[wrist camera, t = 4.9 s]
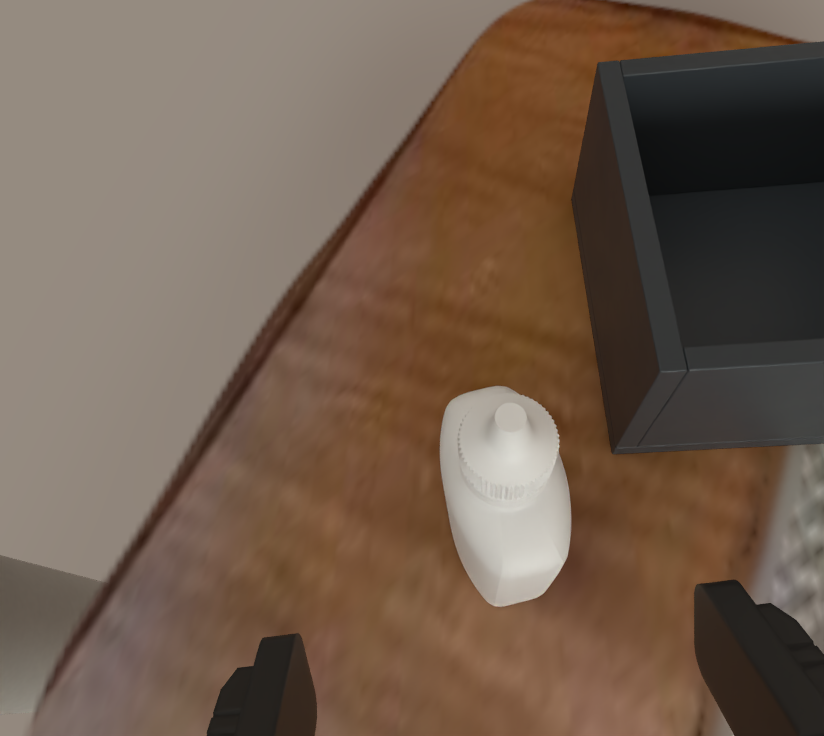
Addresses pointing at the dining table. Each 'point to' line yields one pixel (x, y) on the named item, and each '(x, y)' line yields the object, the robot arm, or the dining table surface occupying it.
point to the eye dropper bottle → (505, 493)
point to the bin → (706, 247)
